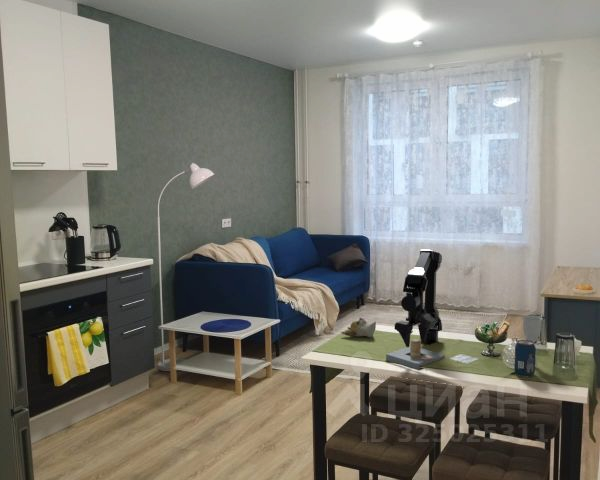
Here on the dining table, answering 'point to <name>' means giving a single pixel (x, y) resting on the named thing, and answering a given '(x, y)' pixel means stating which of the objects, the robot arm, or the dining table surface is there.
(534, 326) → the chalice
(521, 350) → the soda can
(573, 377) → the dining table surface
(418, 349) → the peg
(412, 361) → the hole plate
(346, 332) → the ceramic sculpture
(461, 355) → the plate
